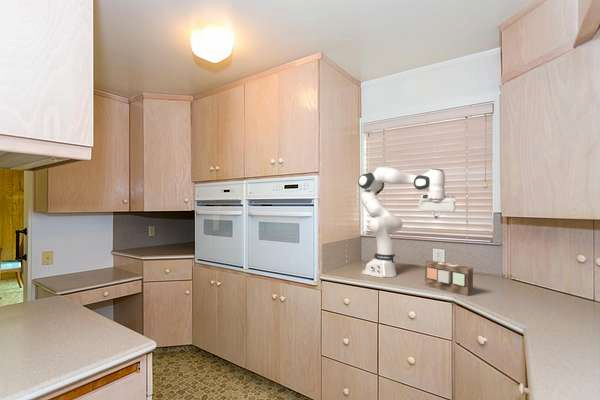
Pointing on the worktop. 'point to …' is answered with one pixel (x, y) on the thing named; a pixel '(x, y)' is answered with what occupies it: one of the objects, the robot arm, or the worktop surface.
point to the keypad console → (452, 287)
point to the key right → (459, 278)
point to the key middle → (444, 276)
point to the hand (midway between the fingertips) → (436, 218)
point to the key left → (432, 273)
